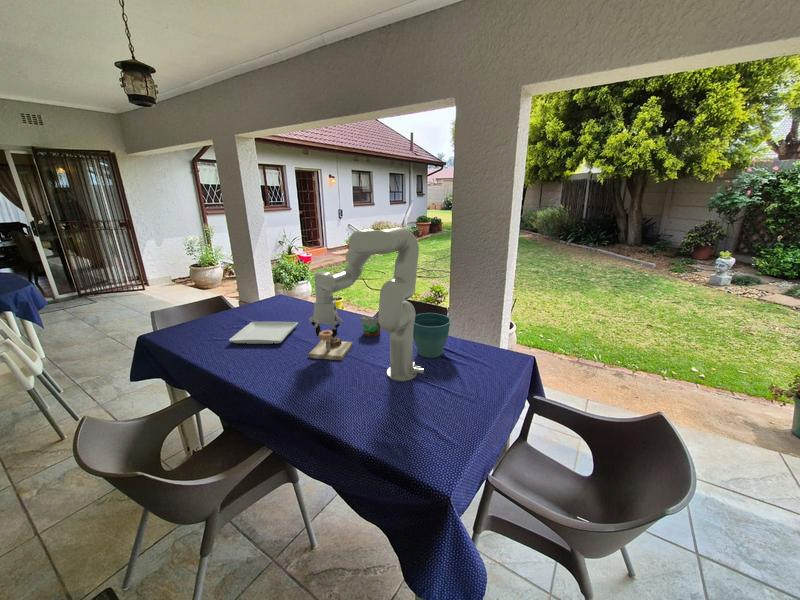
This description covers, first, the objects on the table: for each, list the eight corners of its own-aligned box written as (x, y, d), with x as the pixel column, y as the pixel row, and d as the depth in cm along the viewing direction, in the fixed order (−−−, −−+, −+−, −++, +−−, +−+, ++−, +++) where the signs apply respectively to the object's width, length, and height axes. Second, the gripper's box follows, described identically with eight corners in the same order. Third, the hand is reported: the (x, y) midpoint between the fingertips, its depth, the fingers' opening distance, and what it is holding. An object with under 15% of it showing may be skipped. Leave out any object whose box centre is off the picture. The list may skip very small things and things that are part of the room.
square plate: (282, 347, 168) (281, 339, 167) (228, 346, 169) (227, 339, 168) (299, 327, 194) (298, 320, 193) (252, 327, 195) (251, 320, 194)
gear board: (352, 345, 168) (352, 333, 167) (341, 360, 153) (341, 347, 151) (322, 343, 171) (321, 331, 169) (308, 357, 156) (307, 344, 154)
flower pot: (447, 363, 150) (449, 327, 145) (408, 359, 153) (408, 325, 148) (450, 346, 167) (451, 314, 162) (414, 343, 170) (414, 311, 165)
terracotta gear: (336, 335, 159) (336, 330, 158) (331, 341, 152) (331, 336, 152) (322, 334, 160) (322, 329, 160) (316, 340, 154) (315, 335, 153)
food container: (356, 335, 181) (355, 317, 178) (363, 331, 186) (362, 314, 183) (376, 339, 175) (375, 321, 173) (382, 335, 181) (381, 318, 178)
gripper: (345, 297, 153) (347, 334, 158) (309, 295, 156) (312, 331, 161) (340, 302, 146) (341, 340, 151) (302, 300, 149) (305, 337, 154)
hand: (326, 335), depth 156 cm, fingers closed on terracotta gear, 7 cm apart
